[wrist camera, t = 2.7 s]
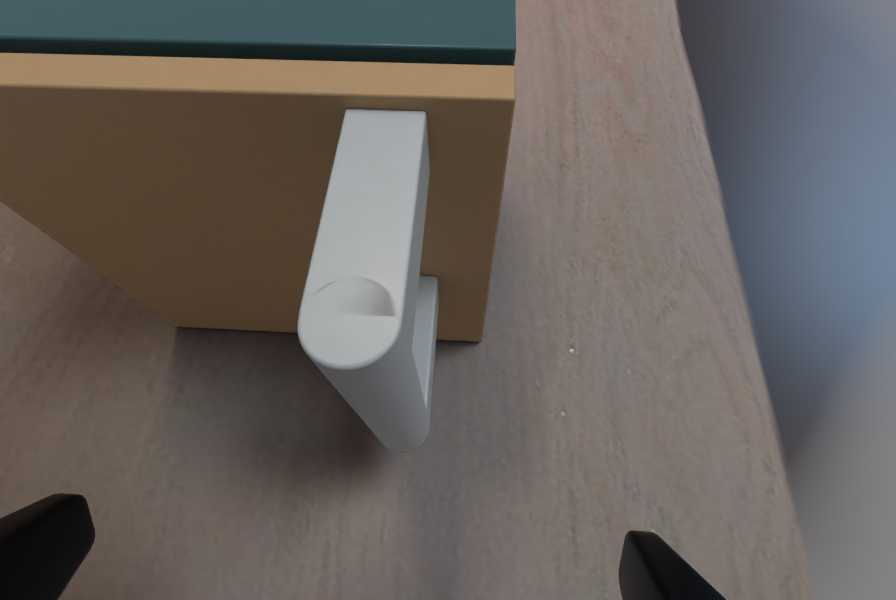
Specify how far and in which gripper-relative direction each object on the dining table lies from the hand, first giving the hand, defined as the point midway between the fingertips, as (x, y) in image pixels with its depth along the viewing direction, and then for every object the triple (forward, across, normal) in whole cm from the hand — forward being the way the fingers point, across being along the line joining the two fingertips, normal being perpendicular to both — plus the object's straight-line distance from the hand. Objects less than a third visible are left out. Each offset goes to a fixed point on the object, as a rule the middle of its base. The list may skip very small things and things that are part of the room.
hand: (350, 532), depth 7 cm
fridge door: (+11, +4, +3) cm, 12 cm away
